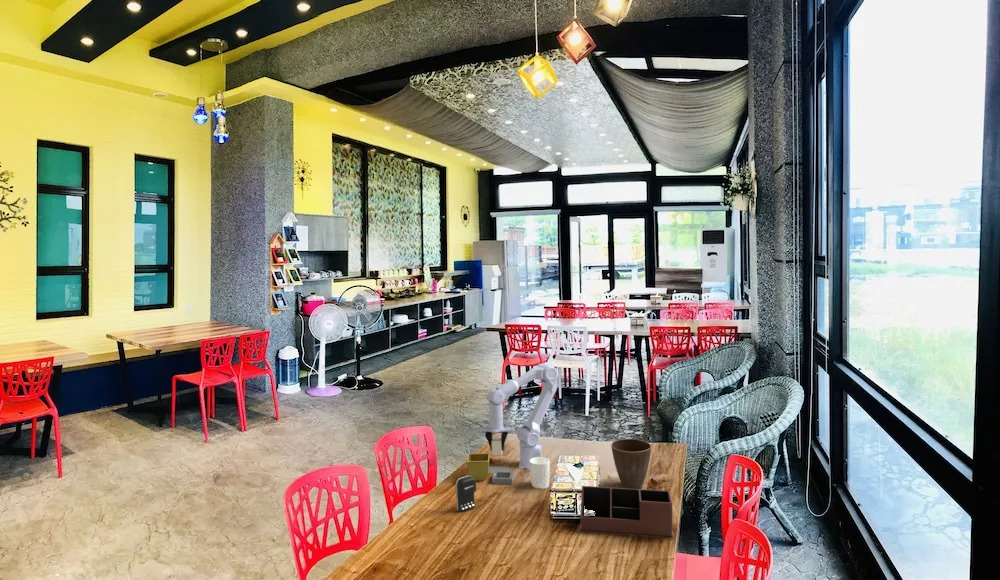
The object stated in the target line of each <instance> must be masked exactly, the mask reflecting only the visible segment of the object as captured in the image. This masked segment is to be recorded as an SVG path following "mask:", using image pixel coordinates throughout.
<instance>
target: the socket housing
mask: <svg viewBox="0 0 1000 580" xmlns="http://www.w3.org/2000/svg"><path fill="white" fill-rule="evenodd" d="M492 474H493V475H492V478H491V485H513V482H514V477H515V471H509V470H508V471H494V473H492Z"/></svg>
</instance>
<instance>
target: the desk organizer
mask: <svg viewBox="0 0 1000 580" xmlns="http://www.w3.org/2000/svg"><path fill="white" fill-rule="evenodd" d="M584 506H585V509H587V510H593V511H595V513H596V514H595V517H589V516H584ZM579 516H580V525H579V531H578V532H583V533H584V532H585V533H595V534H597V533H598V534H607V535H608V534H610V535H623V536H637V537H638V536H639V537H653V538H664V539H665V538H666V539H667V538H668V539H675V536H674V531H673V528H674V527H673V500H672V496H671V491H670V490H660V489H659V490H658V489H645V488H644V489H642V488H640V489H627V488H624V487H610V486H607V487H606V486H593V485H592V486H591V485H589V486H588V485H581V497H580V515H579Z"/></svg>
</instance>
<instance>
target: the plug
mask: <svg viewBox="0 0 1000 580" xmlns="http://www.w3.org/2000/svg"><path fill="white" fill-rule="evenodd" d="M503 452H504V450H503V451H502V440H501V437H498V438H497V437H496V438H495V437H492V451H491V456H501V457H502V456H503Z"/></svg>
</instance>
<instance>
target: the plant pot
mask: <svg viewBox="0 0 1000 580" xmlns="http://www.w3.org/2000/svg"><path fill="white" fill-rule="evenodd" d="M610 446H611V452H612V456H613V457H612V458H613V462H614V467H615V470H616V473H617V475H618V478H619V481H620V483H621V485H622V488H627V489H642V488H643V485H644V483H645V480H646V477H647V474H648V469H649V464H650V460H651V452H652V444H650V442H648V441H645V440H641V439H635V438H627V439H626V438H624V439H618V440H615V441H613V442H611V444H610Z"/></svg>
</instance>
